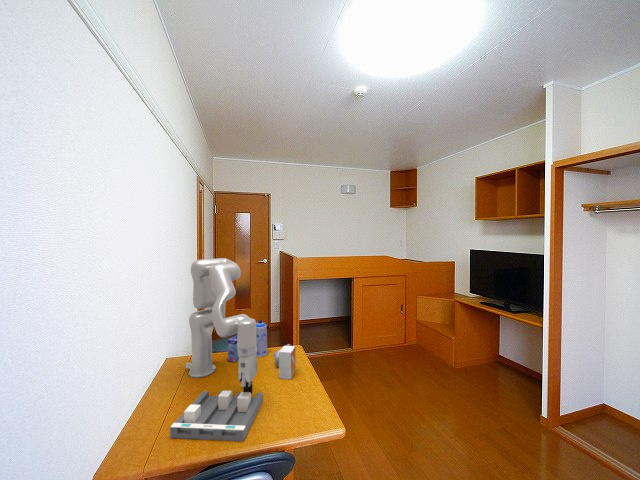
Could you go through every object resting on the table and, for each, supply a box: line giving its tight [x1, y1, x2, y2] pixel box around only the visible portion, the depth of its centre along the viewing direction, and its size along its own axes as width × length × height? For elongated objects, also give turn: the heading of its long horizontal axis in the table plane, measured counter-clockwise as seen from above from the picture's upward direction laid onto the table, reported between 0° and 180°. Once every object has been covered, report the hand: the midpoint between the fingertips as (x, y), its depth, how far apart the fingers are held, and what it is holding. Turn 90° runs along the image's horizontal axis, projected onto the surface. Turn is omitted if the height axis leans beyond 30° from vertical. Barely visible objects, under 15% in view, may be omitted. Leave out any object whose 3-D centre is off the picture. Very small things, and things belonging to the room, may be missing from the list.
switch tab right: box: [237, 391, 252, 412], centre depth 104 cm, size 4×4×5 cm
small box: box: [278, 345, 297, 380], centre depth 133 cm, size 8×6×13 cm
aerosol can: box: [256, 319, 268, 358], centre depth 157 cm, size 8×8×20 cm
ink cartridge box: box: [227, 334, 239, 363], centre depth 152 cm, size 10×6×14 cm, turn 160°
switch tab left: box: [183, 403, 201, 424], centre depth 97 cm, size 4×4×5 cm
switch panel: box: [169, 390, 264, 442], centre depth 101 cm, size 26×22×4 cm
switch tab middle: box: [218, 389, 233, 410], centre depth 105 cm, size 4×4×5 cm
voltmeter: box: [273, 335, 292, 367], centre depth 149 cm, size 27×11×10 cm, turn 21°
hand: (248, 394), depth 108 cm, fingers closed
